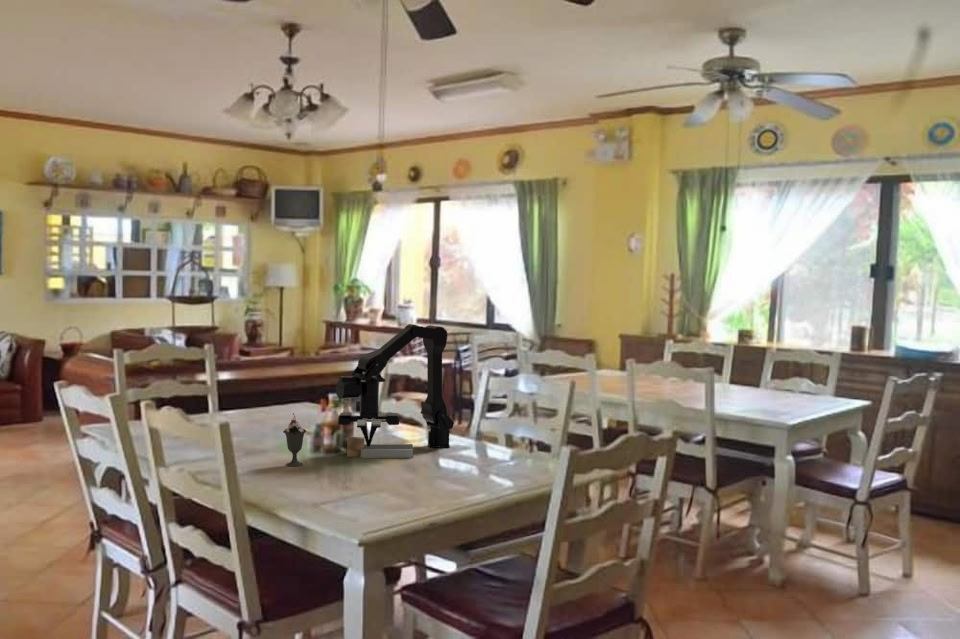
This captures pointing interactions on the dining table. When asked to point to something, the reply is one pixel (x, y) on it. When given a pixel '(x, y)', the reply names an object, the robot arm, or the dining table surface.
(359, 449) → the block
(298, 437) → the sundae
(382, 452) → the channel
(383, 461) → the dining table surface
